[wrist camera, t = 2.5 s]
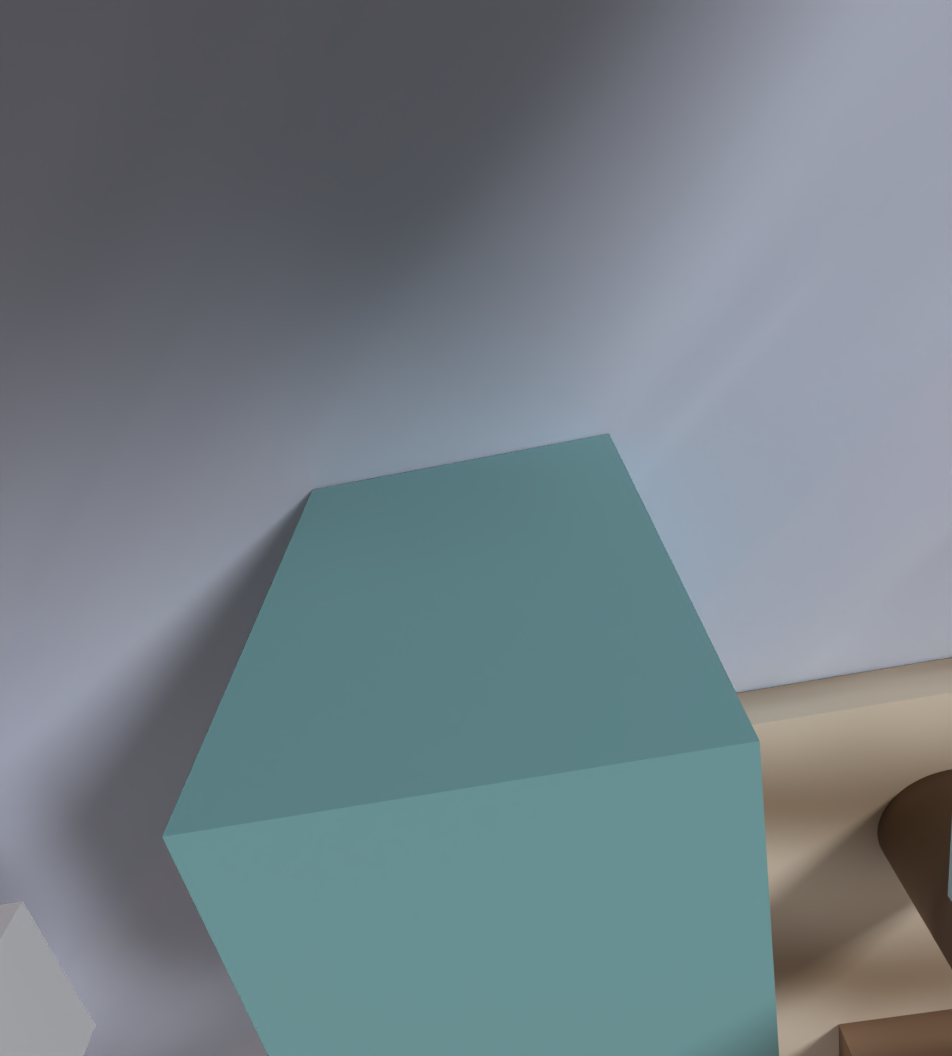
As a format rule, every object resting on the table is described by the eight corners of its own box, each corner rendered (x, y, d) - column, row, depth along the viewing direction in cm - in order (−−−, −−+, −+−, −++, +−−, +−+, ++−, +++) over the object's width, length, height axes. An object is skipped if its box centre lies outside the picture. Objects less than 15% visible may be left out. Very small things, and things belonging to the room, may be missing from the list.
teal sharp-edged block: (312, 489, 18) (161, 836, 9) (609, 434, 17) (759, 740, 8) (384, 724, 20) (322, 1169, 12) (642, 681, 20) (782, 1109, 11)
